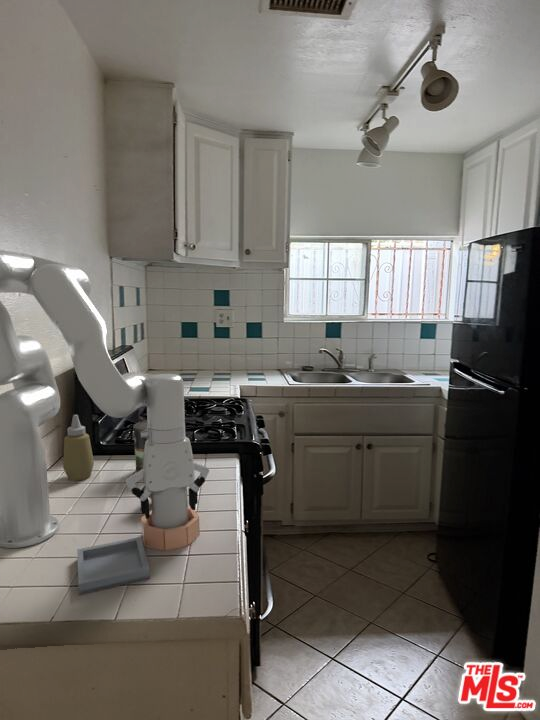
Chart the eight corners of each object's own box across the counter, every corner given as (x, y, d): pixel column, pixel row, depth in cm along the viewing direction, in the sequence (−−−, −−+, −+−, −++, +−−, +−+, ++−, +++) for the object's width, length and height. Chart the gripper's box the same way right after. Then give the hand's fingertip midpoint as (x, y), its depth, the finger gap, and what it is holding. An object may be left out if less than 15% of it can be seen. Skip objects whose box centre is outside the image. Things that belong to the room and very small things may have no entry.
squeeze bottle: (76, 485, 128) (71, 420, 125) (57, 479, 132) (52, 416, 129) (101, 475, 135) (97, 413, 132) (82, 469, 139) (78, 410, 136)
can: (180, 546, 97) (178, 490, 95) (146, 542, 99) (144, 487, 97) (193, 528, 104) (192, 476, 103) (161, 525, 106) (159, 473, 104)
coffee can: (130, 478, 132) (128, 429, 130) (141, 464, 143) (139, 419, 140) (167, 478, 132) (165, 429, 130) (175, 465, 142) (174, 419, 140)
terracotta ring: (147, 554, 94) (146, 535, 94) (139, 528, 105) (138, 510, 104) (203, 542, 98) (203, 524, 98) (191, 518, 109) (190, 501, 108)
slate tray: (79, 595, 82) (78, 584, 81) (78, 559, 93) (77, 549, 92) (149, 578, 86) (149, 568, 86) (140, 546, 97) (140, 536, 97)
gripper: (125, 444, 92) (129, 527, 94) (212, 433, 98) (214, 511, 101) (121, 434, 98) (125, 511, 101) (202, 424, 105) (205, 497, 107)
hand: (169, 511), depth 101 cm, fingers open, 9 cm apart
